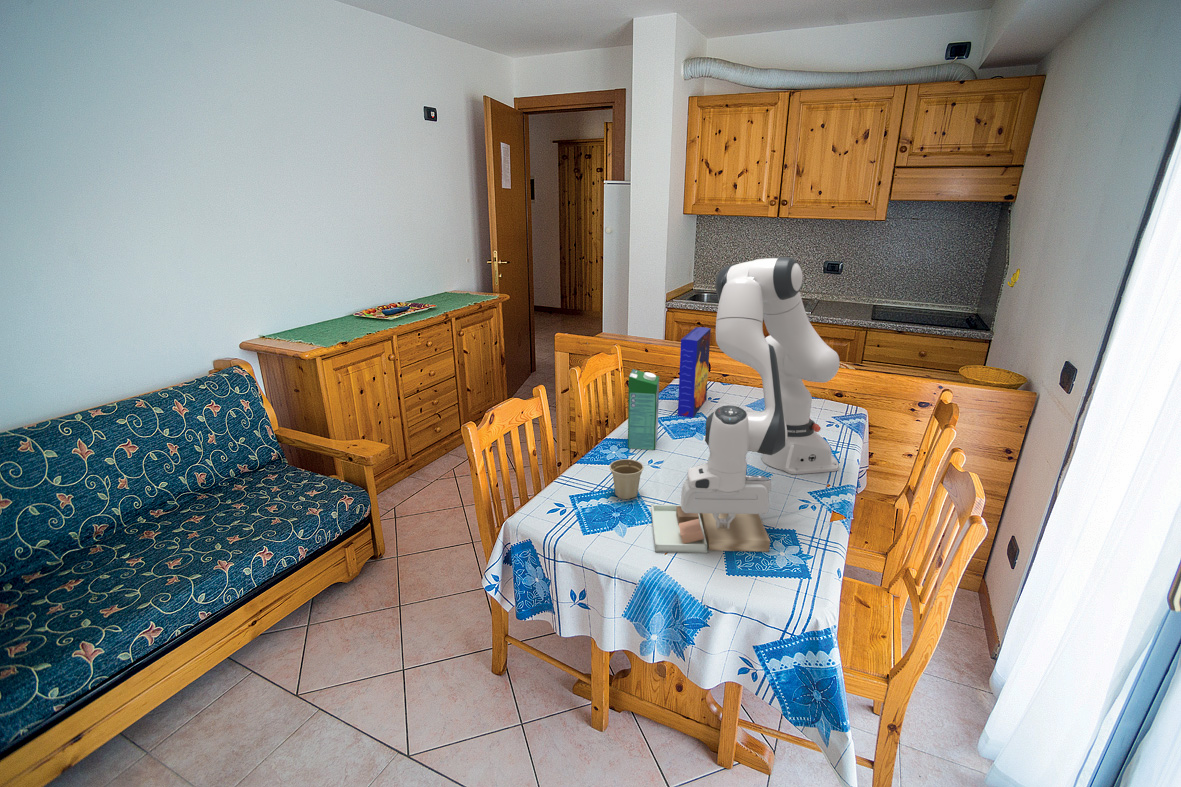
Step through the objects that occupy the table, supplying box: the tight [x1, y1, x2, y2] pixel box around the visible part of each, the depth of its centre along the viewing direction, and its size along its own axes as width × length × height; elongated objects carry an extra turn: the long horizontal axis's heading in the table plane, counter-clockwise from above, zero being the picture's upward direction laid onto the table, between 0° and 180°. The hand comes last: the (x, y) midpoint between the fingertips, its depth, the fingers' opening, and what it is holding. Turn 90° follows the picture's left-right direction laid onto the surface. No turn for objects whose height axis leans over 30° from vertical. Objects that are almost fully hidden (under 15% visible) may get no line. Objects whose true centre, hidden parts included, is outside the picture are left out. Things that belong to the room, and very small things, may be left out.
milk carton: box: [627, 368, 660, 451], centre depth 184 cm, size 9×9×25 cm
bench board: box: [699, 513, 771, 553], centre depth 137 cm, size 14×16×3 cm
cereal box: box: [677, 326, 712, 419], centre depth 215 cm, size 22×6×30 cm, turn 156°
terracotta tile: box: [679, 519, 704, 544], centre depth 134 cm, size 5×5×2 cm
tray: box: [650, 504, 708, 554], centre depth 138 cm, size 12×18×2 cm, turn 177°
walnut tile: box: [676, 506, 699, 525], centre depth 142 cm, size 5×5×2 cm
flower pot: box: [609, 458, 645, 500], centre depth 155 cm, size 9×9×9 cm
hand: (722, 527), depth 133 cm, fingers closed
